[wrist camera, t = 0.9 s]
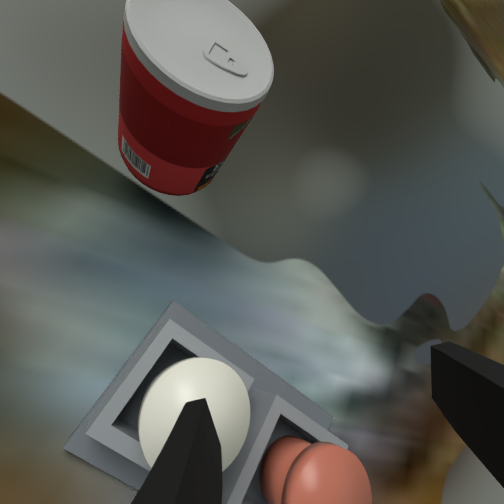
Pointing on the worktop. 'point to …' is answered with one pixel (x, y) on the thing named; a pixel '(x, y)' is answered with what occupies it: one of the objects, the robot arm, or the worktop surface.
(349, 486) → the red plug
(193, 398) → the cream plug
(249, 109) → the canned food
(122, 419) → the socket board
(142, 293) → the worktop surface
